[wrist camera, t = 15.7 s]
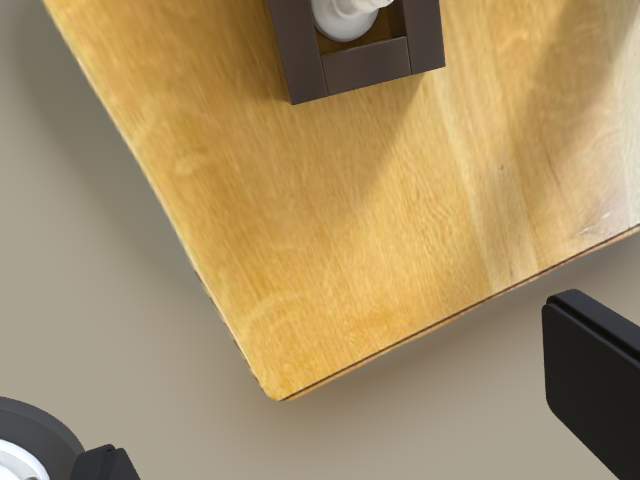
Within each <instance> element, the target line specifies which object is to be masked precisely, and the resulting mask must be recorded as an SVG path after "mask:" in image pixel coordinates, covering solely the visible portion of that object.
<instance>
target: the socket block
mask: <svg viewBox="0 0 640 480" xmlns="http://www.w3.org/2000/svg"><path fill="white" fill-rule="evenodd" d="M262 3H263V7H264V11H265V15H266V20H267V24H268V28H269V32H270V36H271V41H272V45H273V49H274V53H275V57H276V61H277V66H278V70H279V74H280V78H281V82H282V87H283V91H284V95H285V99H286V102H288V103H290V104H291V105H296V104H300V103H304V102H308V101H312V100H315V99H319V98H323V97H327V96H331V95H335V94H339V93H343V92H347V91H351V90H355V89H359V88H363V87H367V86H370V85H374V84H378V83H382V82H386V81H390V80H394V79H398V78H402V77H406V76H410V75H414V74H418V73H422V72H426V71H430V70H434V69H438V68H442V67H445V66H446V64H445V54H444V45H443V35H442V26H441V16H440V7H439V0H393V1H392V2H391V3H390V4H389V5H387V10H388V16H389V23H390V30H391V37H392V38H388V39H384V40H380V41H375V42H371V43H367V44H363V45H359V46H355V47H351V48H347V49H343V50H338V51H334V52H330V53H326V54H322V55H320V53H319V48H318V43H317V38H316V33H315V28H314V24H313V19H312V14H311V9H310V4H309V0H262Z"/></svg>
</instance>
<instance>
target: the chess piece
mask: <svg viewBox="0 0 640 480" xmlns="http://www.w3.org/2000/svg"><path fill="white" fill-rule="evenodd" d="M392 1H393V0H309V4H310V9H311V14H312V19H313V23H314V25H315V26H316V28H317V29H318V30H319V31H320V32H321V33H322V34H323V35H324V36H326V37H327V38H329V39H331V40H334V41H339V42H347V41H352V40H355V39H357V38H359V37H361V36H362V35H363V34H364V33H366V32H367V31H368V30H369V29H370V28H371V26H372V25H373V23H374V21H375V20H376V17H377V15H378V11H379V8H381V7H385V6H387V5H389V4H390V3H391V2H392Z"/></svg>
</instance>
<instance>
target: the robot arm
mask: <svg viewBox="0 0 640 480" xmlns="http://www.w3.org/2000/svg"><path fill="white" fill-rule="evenodd" d="M542 328H543V349H544V368H545V389H546V400H547V403H548V405H549V407H550V409H551V411H552V412H553V413H554V414H555V416H556V417H557V418H558V419H560V420H561V422H563V423H564V425H566V427H567V428H569V429H570V431H571V432H572V433H573V434H574V435H575V436H576V437H577V438H578V439H579V440H580V441H582V443H583V444H584V445H585V446H586V447H587V448H588V449H589V450H590V451H591V452H592V453H593V454H594V455H595V456H596V457H597V458H599V460H600V461H601V462H602V463H603V464H604V465H605V466H606V467H607V468H608V469H609V470H610V471H611V472H612V473H613V474H614V475H615V476H616V477H617V478H618V479H619V480H640V327H639V326H637V325H636V324H634V323H632V322H631V321H629V320H627V319H626V318H624V317H623V316H621V315H619V314H617V313H616V312H614V311H612V310H611V309H609V308H607V307H606V306H604V305H603V304H601V303H599V302H598V301H596V300H594V299H593V298H591V297H589V296H588V295H586V294H584V293H583V292H581V291H579V290H577V289H570V290H567V291H564V292H561V293H558V294H555V295H552V296H550V297H548V299H547V301H546V305H544V306H543V307H542ZM0 480H50V479H49V476H48V474H47V472H46V470H45V468H44V467H43V465H42V464H41V463H40V462H39V461H38V460H37V459H36V458H35V457H34V456H33V455H31V454H30V453H29V452H27V451H26V450H25V449H23V448H21V447H19V446H17V445H15V444H13V443H10V442H7V441H4V440H1V439H0ZM70 480H140V478H139V476H138V474H137V472H136V470H135V468H134V467H133V465H132V462H131V461H130V459H129V457H128V455H127V453H126V451H125V450H124V449H123V448H118V449H115V447H114V446H113V445H111V444H107V445H104V446H101V447H98V448H95V449H92V450H89V451H86V452H83V453H81V454H79V455H78V457H77V459H76V462H75V465H74V468H73V471H72V474H71V477H70Z"/></svg>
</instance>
